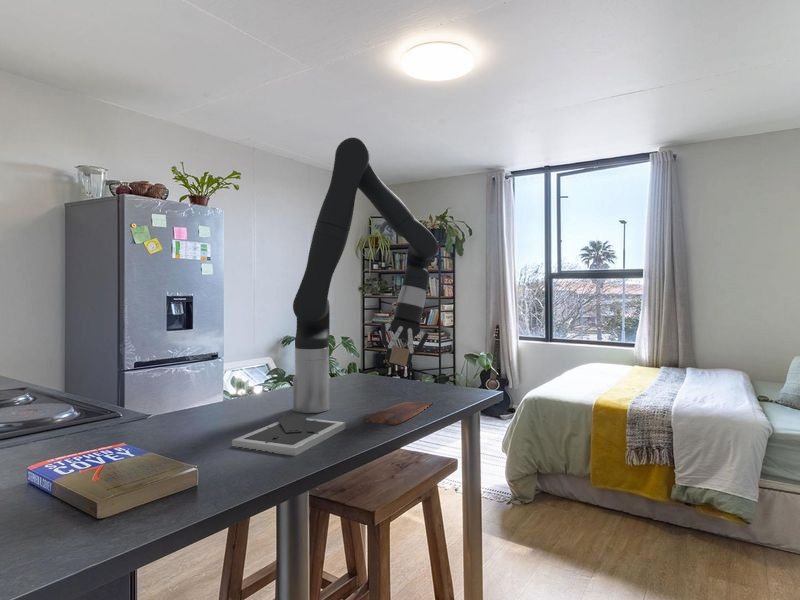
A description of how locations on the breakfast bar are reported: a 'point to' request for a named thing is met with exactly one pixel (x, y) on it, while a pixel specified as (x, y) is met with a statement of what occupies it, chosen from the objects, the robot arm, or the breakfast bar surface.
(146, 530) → the breakfast bar surface
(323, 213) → the robot arm
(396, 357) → the cream block
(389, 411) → the wooden tablet
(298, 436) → the picture frame
